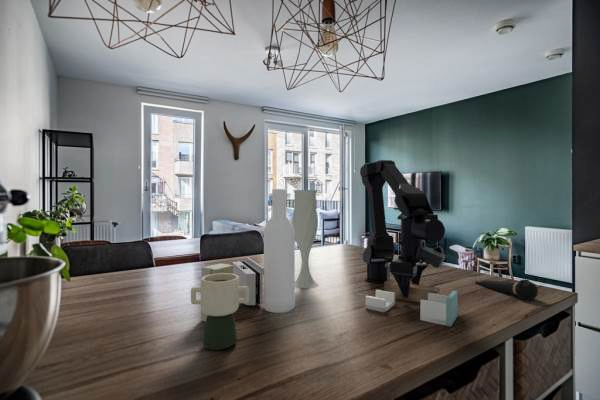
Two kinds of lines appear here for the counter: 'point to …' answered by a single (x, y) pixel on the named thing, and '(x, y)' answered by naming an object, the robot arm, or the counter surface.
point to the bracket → (250, 279)
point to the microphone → (513, 288)
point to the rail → (411, 291)
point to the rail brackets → (421, 306)
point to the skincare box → (215, 270)
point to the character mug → (219, 308)
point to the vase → (305, 232)
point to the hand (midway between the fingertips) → (411, 293)
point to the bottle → (279, 257)
